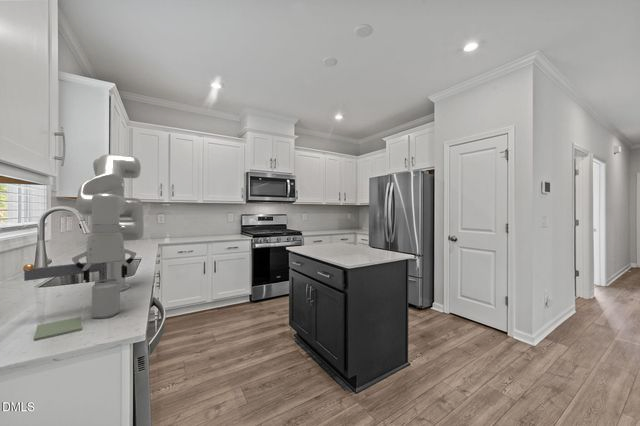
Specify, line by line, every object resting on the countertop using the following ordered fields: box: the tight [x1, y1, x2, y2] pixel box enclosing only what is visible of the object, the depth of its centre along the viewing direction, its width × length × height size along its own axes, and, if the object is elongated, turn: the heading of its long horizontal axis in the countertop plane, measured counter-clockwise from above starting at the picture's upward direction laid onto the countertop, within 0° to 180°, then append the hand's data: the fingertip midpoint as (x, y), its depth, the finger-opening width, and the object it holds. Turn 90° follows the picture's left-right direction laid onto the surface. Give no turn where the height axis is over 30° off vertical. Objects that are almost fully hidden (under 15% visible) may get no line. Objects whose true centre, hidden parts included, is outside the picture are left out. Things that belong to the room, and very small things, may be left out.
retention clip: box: [22, 262, 107, 282], centre depth 94 cm, size 22×3×17 cm, turn 138°
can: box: [91, 279, 121, 319], centre depth 93 cm, size 8×8×12 cm
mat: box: [33, 316, 83, 341], centre depth 82 cm, size 12×10×1 cm
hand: (106, 279), depth 92 cm, fingers open, 9 cm apart
